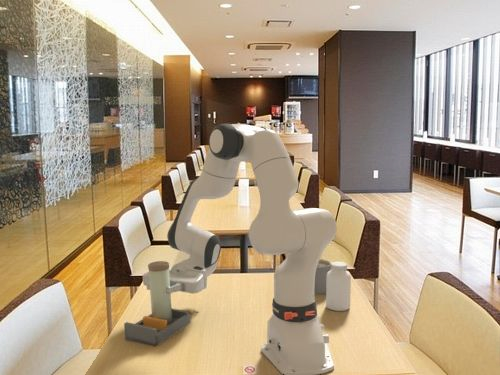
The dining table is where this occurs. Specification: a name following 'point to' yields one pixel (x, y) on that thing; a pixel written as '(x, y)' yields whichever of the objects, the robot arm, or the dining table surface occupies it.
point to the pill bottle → (338, 287)
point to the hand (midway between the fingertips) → (158, 289)
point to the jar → (160, 290)
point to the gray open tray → (152, 334)
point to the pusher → (154, 323)
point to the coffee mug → (321, 276)
